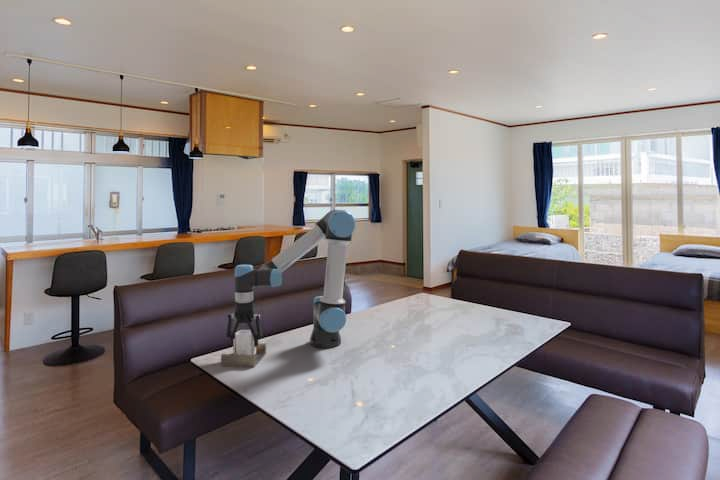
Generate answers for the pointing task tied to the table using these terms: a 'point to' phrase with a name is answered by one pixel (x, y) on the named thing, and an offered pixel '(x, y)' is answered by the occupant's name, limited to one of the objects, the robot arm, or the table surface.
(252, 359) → the port dock
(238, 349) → the white cup
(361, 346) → the table surface
